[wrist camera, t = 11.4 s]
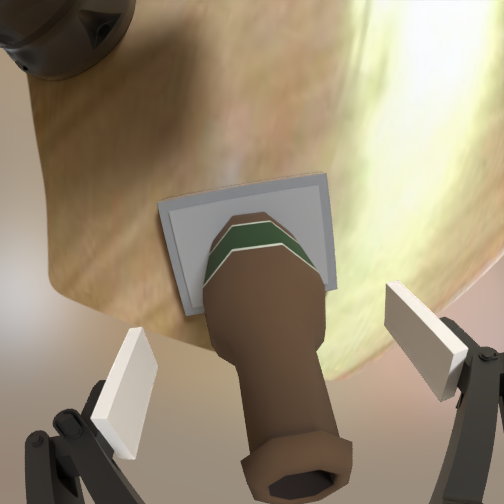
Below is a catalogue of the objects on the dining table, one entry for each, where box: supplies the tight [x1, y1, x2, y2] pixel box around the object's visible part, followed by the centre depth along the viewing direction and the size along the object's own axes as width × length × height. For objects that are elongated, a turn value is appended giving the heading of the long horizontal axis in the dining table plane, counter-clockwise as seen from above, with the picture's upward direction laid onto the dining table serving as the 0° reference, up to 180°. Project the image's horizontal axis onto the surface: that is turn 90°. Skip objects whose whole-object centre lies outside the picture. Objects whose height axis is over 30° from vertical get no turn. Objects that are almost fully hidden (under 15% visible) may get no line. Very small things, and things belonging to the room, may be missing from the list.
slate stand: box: [157, 172, 337, 316], centre depth 31 cm, size 12×16×2 cm
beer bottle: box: [203, 212, 352, 504], centre depth 19 cm, size 8×8×24 cm
